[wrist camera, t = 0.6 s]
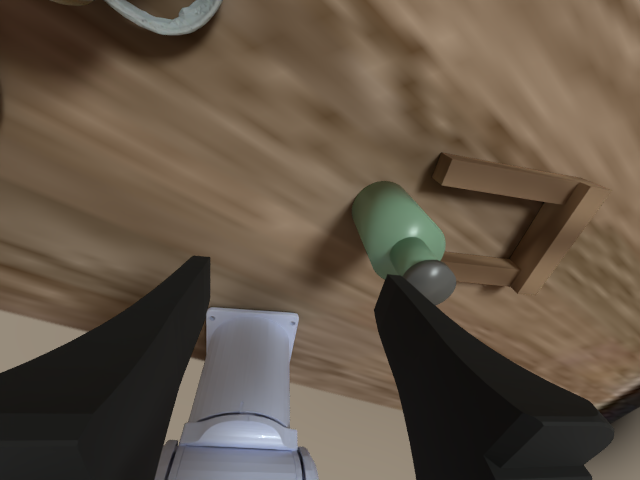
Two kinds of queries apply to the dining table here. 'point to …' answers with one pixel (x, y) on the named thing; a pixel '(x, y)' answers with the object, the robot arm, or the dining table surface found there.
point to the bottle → (402, 239)
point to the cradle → (544, 232)
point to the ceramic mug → (184, 24)
